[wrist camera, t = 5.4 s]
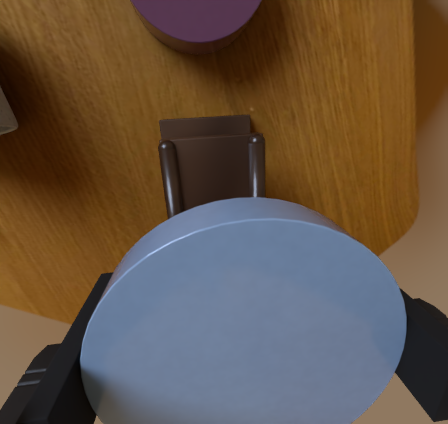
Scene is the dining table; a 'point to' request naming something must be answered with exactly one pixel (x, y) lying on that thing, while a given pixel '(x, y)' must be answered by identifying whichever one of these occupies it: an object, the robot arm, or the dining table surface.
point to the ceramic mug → (6, 116)
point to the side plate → (244, 321)
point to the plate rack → (210, 161)
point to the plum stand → (196, 22)
